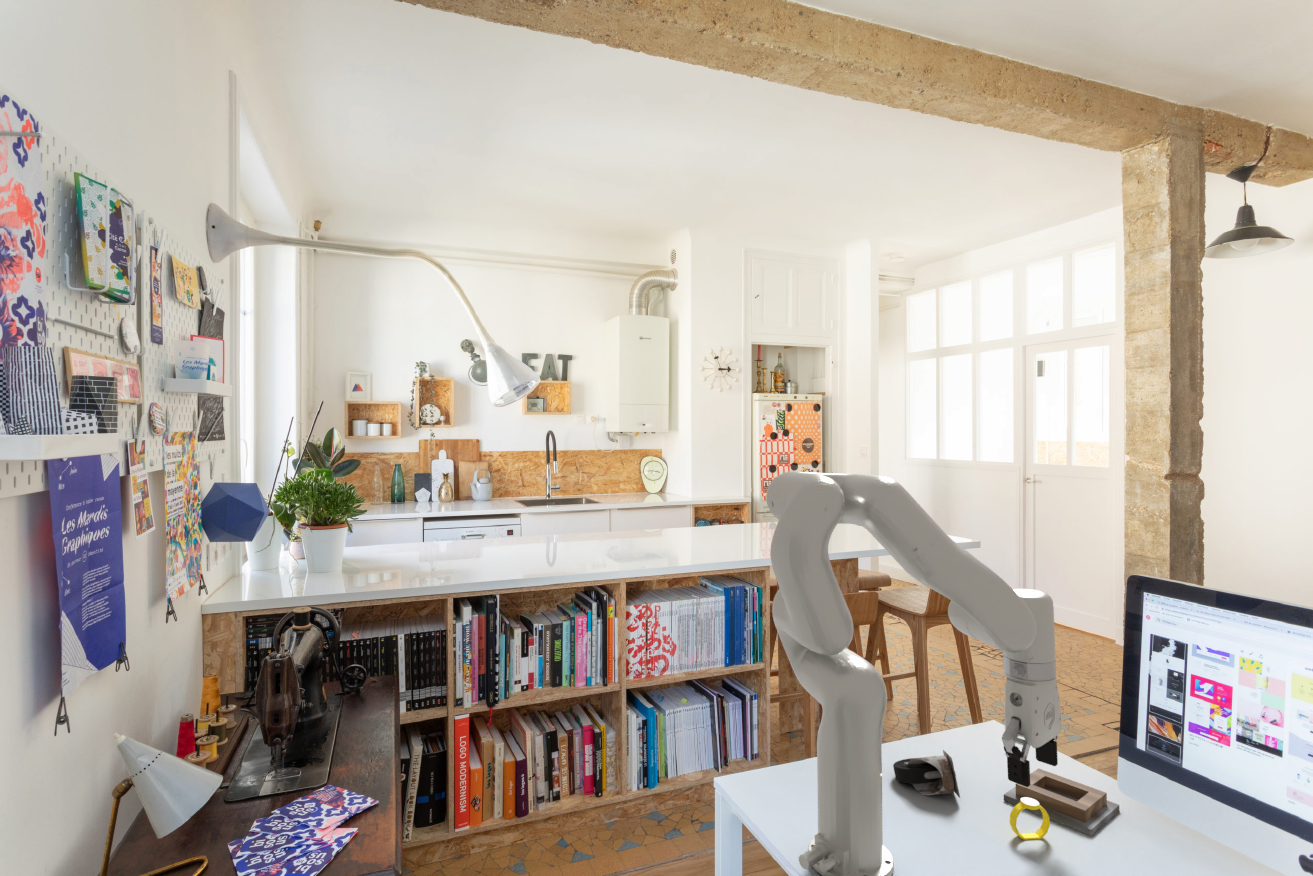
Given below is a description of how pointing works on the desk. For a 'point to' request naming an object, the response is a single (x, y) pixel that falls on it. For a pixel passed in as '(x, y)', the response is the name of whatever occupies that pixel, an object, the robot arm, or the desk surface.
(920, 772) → the caster wheel
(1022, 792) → the frame
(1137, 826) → the desk surface
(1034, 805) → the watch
